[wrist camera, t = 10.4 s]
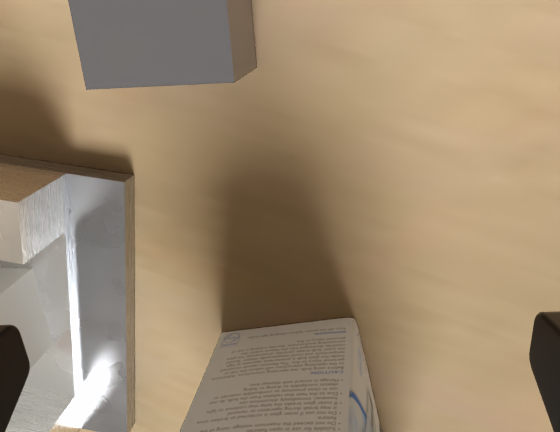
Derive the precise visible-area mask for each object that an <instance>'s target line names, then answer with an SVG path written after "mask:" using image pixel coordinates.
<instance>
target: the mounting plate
mask: <svg viewBox="0 0 560 432" xmlns="http://www.w3.org/2000/svg"><path fill="white" fill-rule="evenodd" d="M0 268H33V272H34V276H35V279H36V283H37V286H38V290H39V294H40V297H41V301H42V304H43V308H44V312H45V315H46V319H47V323H48V326H49V330H50V333H51V337H52V341H53V344H52V345H51V347H50V348H49V349H48V350H47V351H46V352H45V353H44V354H43V356H42V357H41V358H40V359H39V360H38V361H37V362H36V363H35V364H34V366H33V367H32V368H31V369H30V370H29V375H28V378H27V380H26V383H25V385H24V387H23V390H22V392H21V395H20V397H19V400H18V402H17V404H16V407H15V409H14V412H13V414H12V417H11V419H10V421H9V424H8V426H7V429H6V431H5V432H79V431H80V429H81V428H83V429H88V430H93V431H98V432H130V431H131V429H132V427H133V426H134V424H135V303H134V175H131V174H125V173H118V172H112V171H105V170H99V169H92V168H86V167H79V166H73V165H66V164H60V163H53V162H46V161H40V160H33V159H27V158H20V157H14V156H7V155H1V154H0Z"/></svg>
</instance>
